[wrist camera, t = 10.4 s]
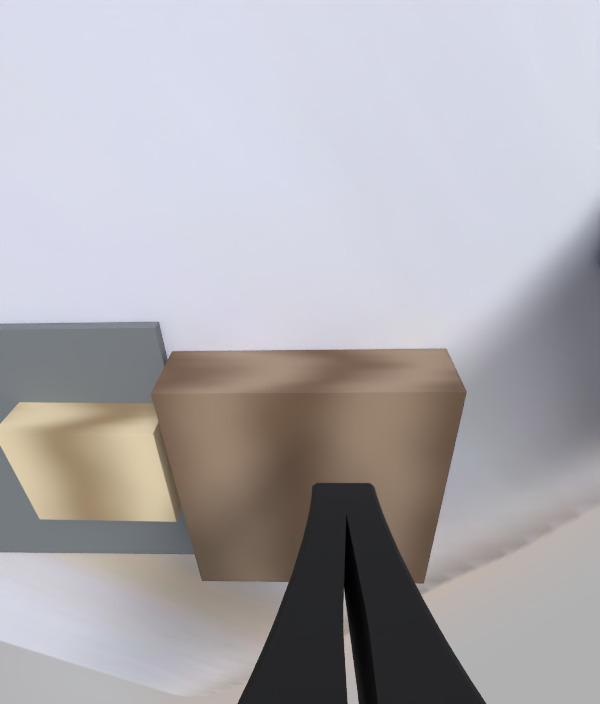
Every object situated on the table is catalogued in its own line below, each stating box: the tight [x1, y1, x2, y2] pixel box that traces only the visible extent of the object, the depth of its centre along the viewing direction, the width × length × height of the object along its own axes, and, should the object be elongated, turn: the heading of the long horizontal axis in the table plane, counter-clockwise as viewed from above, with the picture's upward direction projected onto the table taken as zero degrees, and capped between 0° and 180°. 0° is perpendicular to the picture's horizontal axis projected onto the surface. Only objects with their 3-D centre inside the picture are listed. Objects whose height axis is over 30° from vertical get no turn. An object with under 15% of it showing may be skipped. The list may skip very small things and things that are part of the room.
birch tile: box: [0, 402, 181, 522], centre depth 21 cm, size 7×6×2 cm
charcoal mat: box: [0, 322, 195, 554], centre depth 23 cm, size 16×16×1 cm
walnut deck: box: [151, 349, 466, 583], centre depth 21 cm, size 12×13×3 cm
